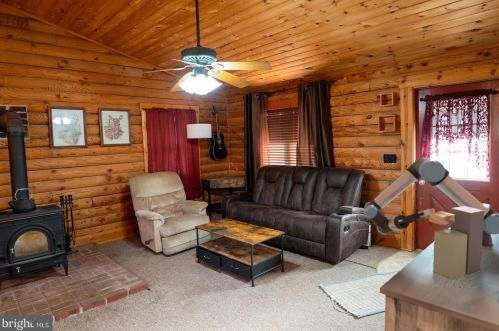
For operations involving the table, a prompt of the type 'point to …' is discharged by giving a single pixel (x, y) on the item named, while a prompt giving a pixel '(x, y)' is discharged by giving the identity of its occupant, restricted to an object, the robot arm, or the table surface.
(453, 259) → the low stand
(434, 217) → the handle block
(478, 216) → the tall stand
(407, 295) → the table surface
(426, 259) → the table surface
